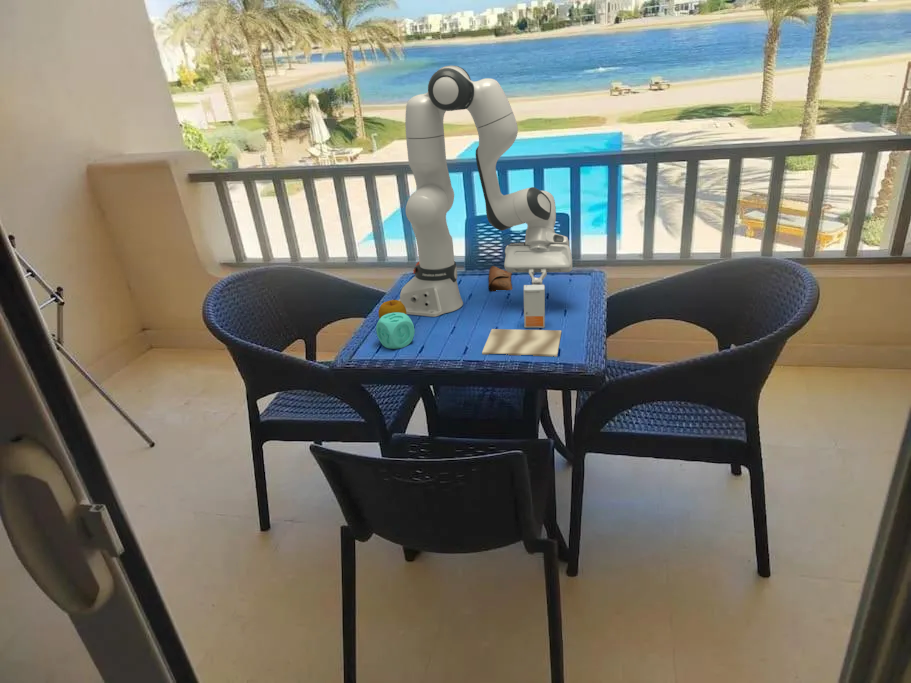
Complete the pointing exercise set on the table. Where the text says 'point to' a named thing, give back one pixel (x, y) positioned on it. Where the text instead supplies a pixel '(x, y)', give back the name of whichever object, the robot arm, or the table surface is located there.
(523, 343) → the birch board
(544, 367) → the table surface
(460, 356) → the table surface
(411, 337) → the decorative dice
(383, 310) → the apple
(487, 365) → the table surface
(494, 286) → the sunglasses case
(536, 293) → the skincare box
